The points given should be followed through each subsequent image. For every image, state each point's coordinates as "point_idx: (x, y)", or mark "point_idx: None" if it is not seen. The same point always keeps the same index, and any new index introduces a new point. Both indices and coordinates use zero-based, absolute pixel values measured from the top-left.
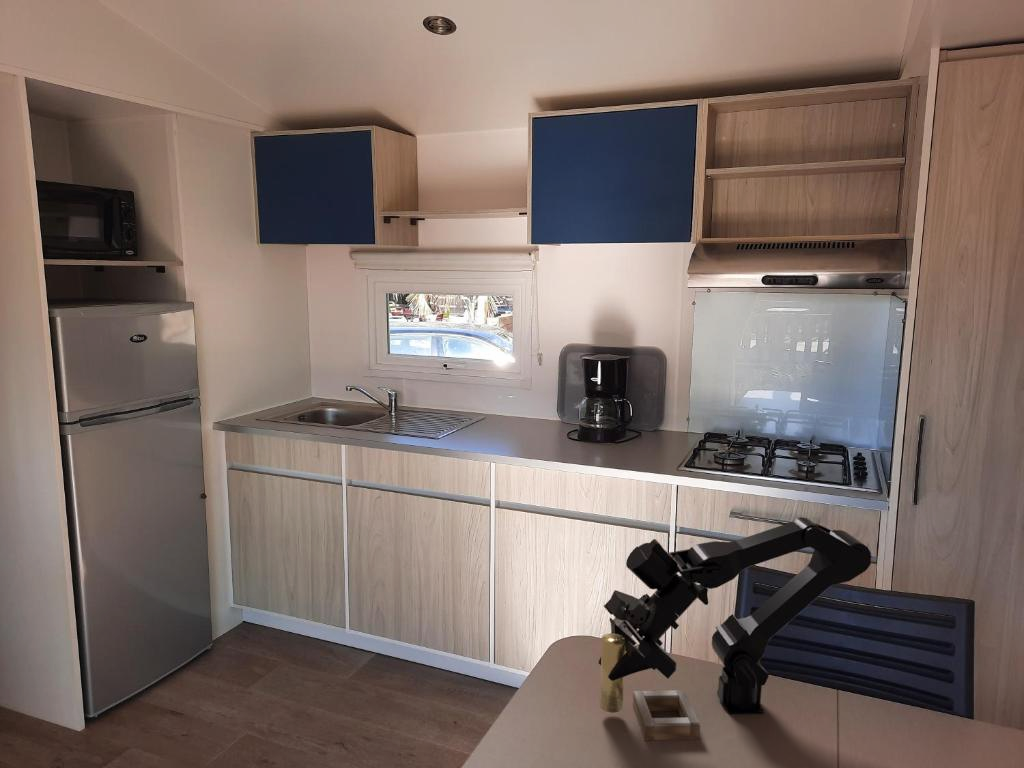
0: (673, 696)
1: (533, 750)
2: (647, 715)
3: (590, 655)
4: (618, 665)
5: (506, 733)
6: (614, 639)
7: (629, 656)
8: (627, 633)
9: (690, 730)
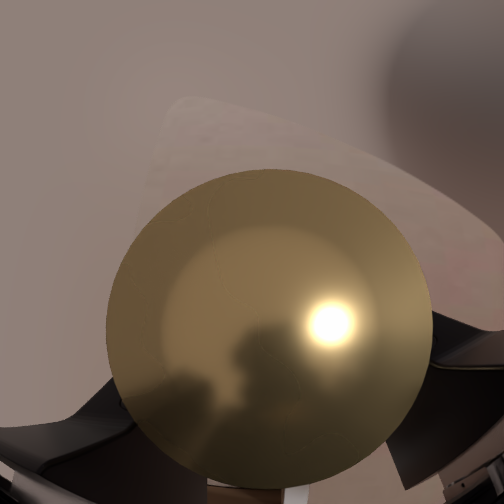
0: (283, 501)
1: (174, 154)
2: None
3: (492, 305)
4: None
5: (227, 116)
6: (268, 344)
7: (74, 417)
8: (456, 466)
9: None
